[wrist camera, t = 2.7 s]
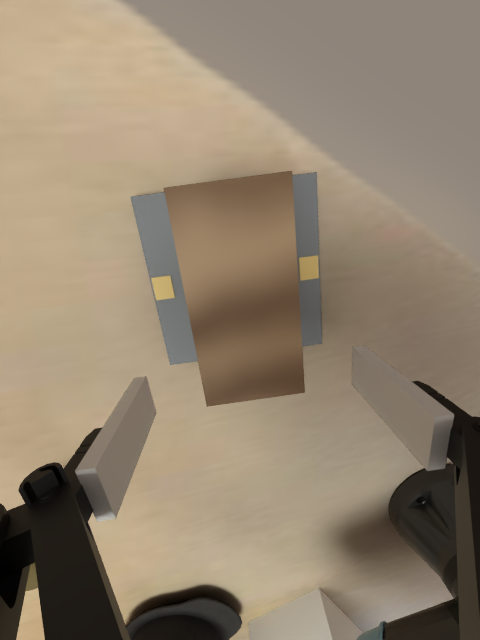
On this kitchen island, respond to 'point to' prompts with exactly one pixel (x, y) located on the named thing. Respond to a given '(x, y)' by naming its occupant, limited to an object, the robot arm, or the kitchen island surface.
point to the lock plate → (169, 281)
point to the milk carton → (304, 621)
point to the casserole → (187, 622)
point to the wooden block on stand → (241, 284)
